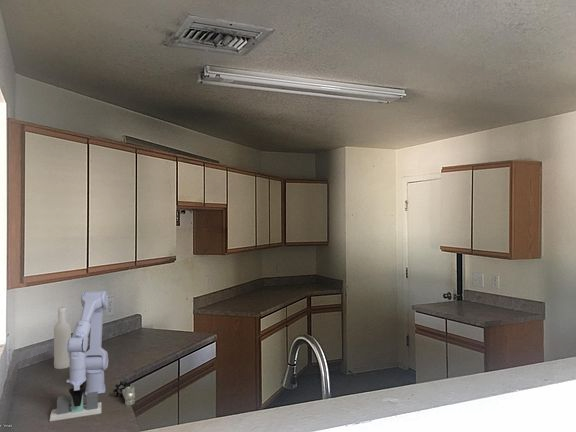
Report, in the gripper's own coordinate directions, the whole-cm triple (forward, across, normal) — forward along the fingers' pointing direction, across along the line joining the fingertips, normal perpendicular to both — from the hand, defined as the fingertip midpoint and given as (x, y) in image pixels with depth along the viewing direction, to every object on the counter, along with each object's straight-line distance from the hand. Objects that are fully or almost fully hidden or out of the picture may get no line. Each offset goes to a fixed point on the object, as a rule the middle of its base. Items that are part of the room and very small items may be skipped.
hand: (78, 402), depth 179 cm
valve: (+4, -4, +18) cm, 19 cm away
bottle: (+4, -61, -10) cm, 62 cm away
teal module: (+3, 0, 0) cm, 3 cm away
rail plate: (+4, 0, 0) cm, 4 cm away
